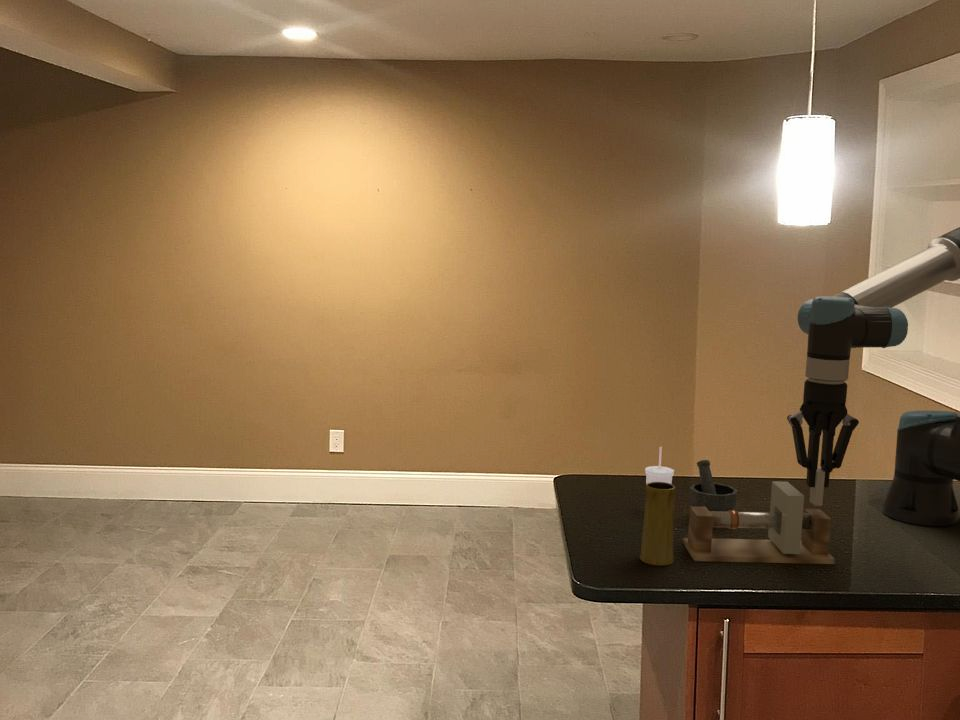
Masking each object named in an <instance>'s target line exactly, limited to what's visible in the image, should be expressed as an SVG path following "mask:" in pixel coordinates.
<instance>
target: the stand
mask: <svg viewBox="0 0 960 720" xmlns="http://www.w3.org/2000/svg"><path fill="white" fill-rule="evenodd" d="M803 513H809V514H810V515H811V518H812V526H811V529H802V532H801V544H800V554H783V553H782V551H781V550H780V549H779V548H778V547H777V546H776V545H775V544H774V543H773V542H772V540H771V539H752V538H751V539H749V538H747V539H746V538H745V539H744V538H713V529H714V527H713V515H712V514H711V513H710V512H709V510H708V509H707V508H706V507H699V506H692V505H690V506H689V519H688V533H687V537H683V538H682V544H683V546H684V547H685V548H686V550H687V552H688V553H689V555H690V557H691V559H692V560H693V562H718V563H719V562H721V563H722V562H724V563H725V562H727V563H766V564H767V563H768V564H769V563H771V564H773V563H774V564H775V563H776V564H778V563H779V564H807V565H808V564H811V565H812V564H816V565H819V564H820V565H834V564H835V559H836V558H835V557H833V555H831V554H830V553H829V550H830V538H831V526H832V518H831V517H830V516H828V515H827V514H826V513H825V512H824V511H823V510H821V509H820V508H803Z"/></svg>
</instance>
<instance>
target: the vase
mask: <svg viewBox="0 0 960 720" xmlns="http://www.w3.org/2000/svg"><path fill="white" fill-rule="evenodd" d="M645 486H646V487H645V488H646V489H645V503H644V504H645V505H644V517H643V527H642V538H641V546H640V547H641V549H640V555H639V559H640V561H641V562H643V563H644V564H648V565H651V566H657V567H659V566H660V567H662V566H663V567H664V566H670V565H672V564H673V563H674V560H675V559H674V517H675V503H676V486H675V484H673V483H671V484H670V483H666V482H650V483H647V485H646V484H645Z"/></svg>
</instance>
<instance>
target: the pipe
mask: <svg viewBox="0 0 960 720" xmlns="http://www.w3.org/2000/svg"><path fill="white" fill-rule="evenodd" d="M709 512H710V513H711V514H712V515H713V528H724V529H725V528H727V529H728V530H738V529H769V528H771V529H781V521H782V513H773V512H770V511H769V512H767V511H765V512H763V511H762V512H761V511H738V510H737V509H735V510H734V509H732V510H728V511H709ZM811 526H812V518H811V515H810V514H809V513H804V512H803V519H802V530H803V529H811Z"/></svg>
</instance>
